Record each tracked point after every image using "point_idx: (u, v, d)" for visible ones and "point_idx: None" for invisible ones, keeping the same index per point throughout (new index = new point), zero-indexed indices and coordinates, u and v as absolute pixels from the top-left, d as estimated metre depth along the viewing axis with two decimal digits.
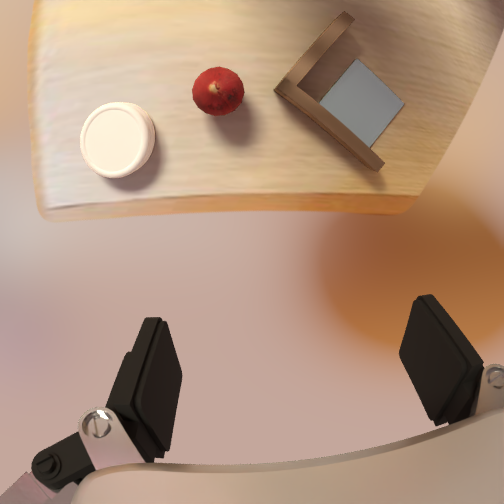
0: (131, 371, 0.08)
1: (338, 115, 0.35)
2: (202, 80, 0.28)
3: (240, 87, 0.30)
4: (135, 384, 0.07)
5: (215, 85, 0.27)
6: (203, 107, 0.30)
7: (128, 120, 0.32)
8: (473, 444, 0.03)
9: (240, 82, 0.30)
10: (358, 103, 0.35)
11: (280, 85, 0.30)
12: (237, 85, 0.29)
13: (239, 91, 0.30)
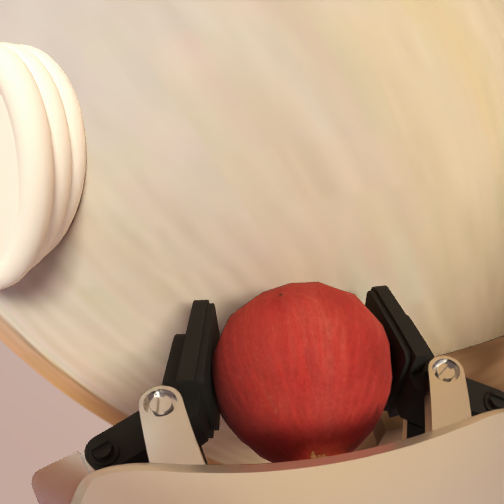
0: (190, 349, 0.08)
1: None
2: (322, 397, 0.06)
3: None
4: (197, 361, 0.08)
5: None
6: (225, 416, 0.08)
7: (5, 171, 0.07)
8: (473, 444, 0.03)
9: None
10: None
11: (393, 430, 0.11)
12: None
13: None
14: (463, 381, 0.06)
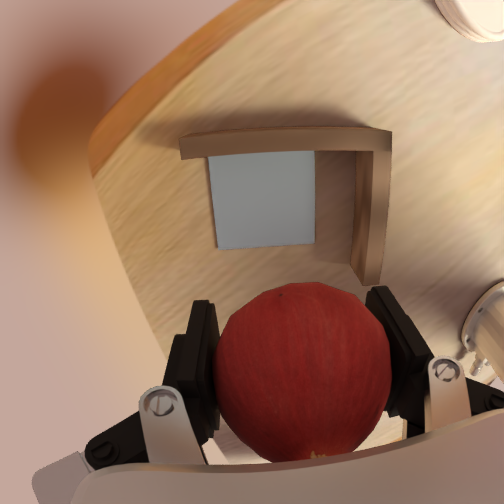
0: (190, 349, 0.08)
1: (280, 157, 0.25)
2: (322, 398, 0.06)
3: None
4: (197, 361, 0.08)
5: None
6: (225, 416, 0.08)
7: (483, 22, 0.15)
8: (473, 444, 0.03)
9: None
10: (270, 194, 0.26)
11: (389, 137, 0.21)
12: None
13: None
14: (463, 381, 0.06)
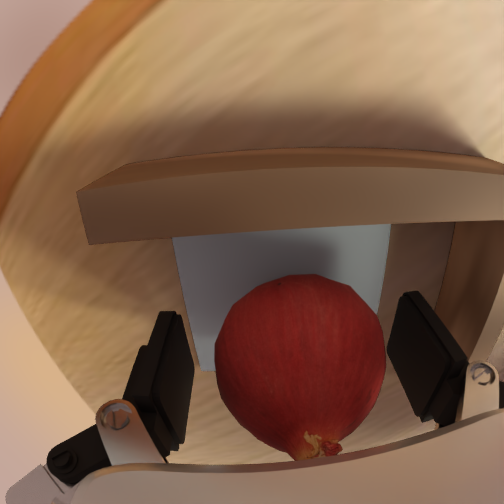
0: (149, 363, 0.08)
1: None
2: (315, 378, 0.07)
3: None
4: (154, 376, 0.07)
5: None
6: (224, 398, 0.09)
7: None
8: (473, 444, 0.03)
9: None
10: None
11: None
12: None
13: None
14: (496, 387, 0.06)
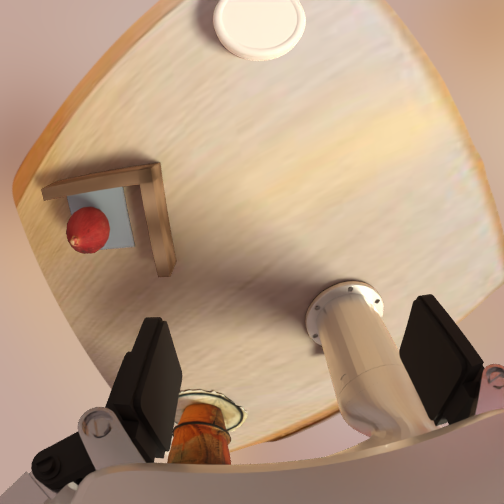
0: (131, 371, 0.08)
1: (103, 191, 0.36)
2: (75, 223, 0.31)
3: (99, 247, 0.34)
4: (135, 384, 0.07)
5: (75, 242, 0.31)
6: None
7: (256, 42, 0.27)
8: (473, 444, 0.03)
9: (102, 243, 0.34)
10: None
11: (149, 173, 0.32)
12: (96, 246, 0.33)
13: (95, 249, 0.34)
14: None
